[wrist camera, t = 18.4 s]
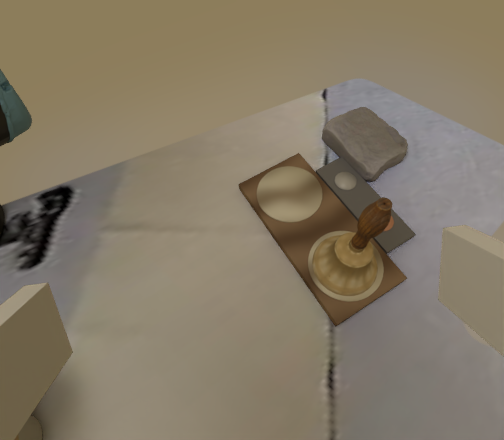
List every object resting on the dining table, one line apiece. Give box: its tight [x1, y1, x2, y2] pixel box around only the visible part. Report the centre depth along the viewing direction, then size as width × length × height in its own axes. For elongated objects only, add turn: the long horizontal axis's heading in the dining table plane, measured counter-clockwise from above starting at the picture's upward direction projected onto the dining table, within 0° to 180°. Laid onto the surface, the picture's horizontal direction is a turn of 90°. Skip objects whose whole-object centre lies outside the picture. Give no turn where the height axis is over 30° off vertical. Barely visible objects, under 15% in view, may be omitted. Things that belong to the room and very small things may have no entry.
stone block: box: [322, 107, 408, 182], centre depth 52 cm, size 12×5×10 cm
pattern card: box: [316, 157, 416, 254], centre depth 47 cm, size 16×5×1 cm, turn 31°
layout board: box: [239, 153, 407, 326], centre depth 45 cm, size 24×11×2 cm, turn 31°
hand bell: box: [312, 197, 392, 296], centre depth 35 cm, size 8×8×16 cm
